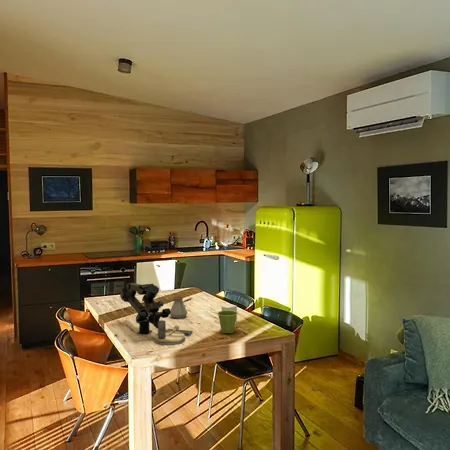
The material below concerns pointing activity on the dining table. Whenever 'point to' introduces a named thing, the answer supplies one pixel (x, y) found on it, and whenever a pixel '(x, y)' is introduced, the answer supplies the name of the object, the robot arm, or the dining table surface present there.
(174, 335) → the disc
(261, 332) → the dining table surface
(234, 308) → the small box
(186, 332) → the base
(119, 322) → the dining table surface
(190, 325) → the dining table surface
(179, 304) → the coffee pot
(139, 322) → the robot arm
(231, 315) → the plant pot
